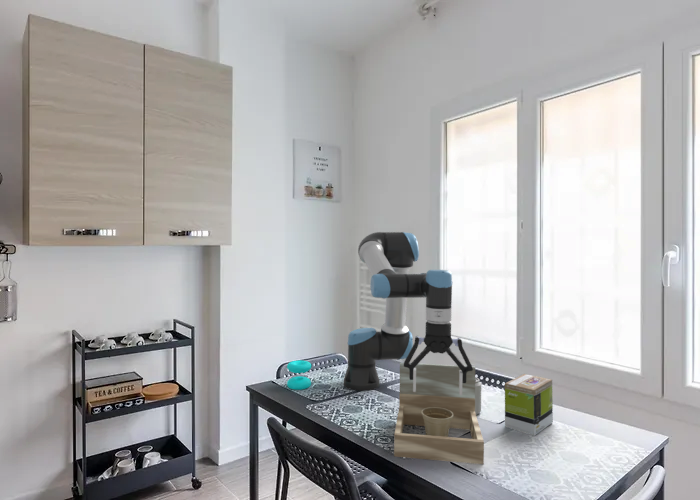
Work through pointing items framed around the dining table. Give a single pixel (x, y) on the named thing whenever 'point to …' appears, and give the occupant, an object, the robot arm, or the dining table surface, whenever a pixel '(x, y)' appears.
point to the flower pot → (437, 421)
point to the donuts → (299, 381)
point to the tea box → (528, 404)
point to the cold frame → (443, 392)
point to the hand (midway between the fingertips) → (437, 392)
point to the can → (477, 396)
